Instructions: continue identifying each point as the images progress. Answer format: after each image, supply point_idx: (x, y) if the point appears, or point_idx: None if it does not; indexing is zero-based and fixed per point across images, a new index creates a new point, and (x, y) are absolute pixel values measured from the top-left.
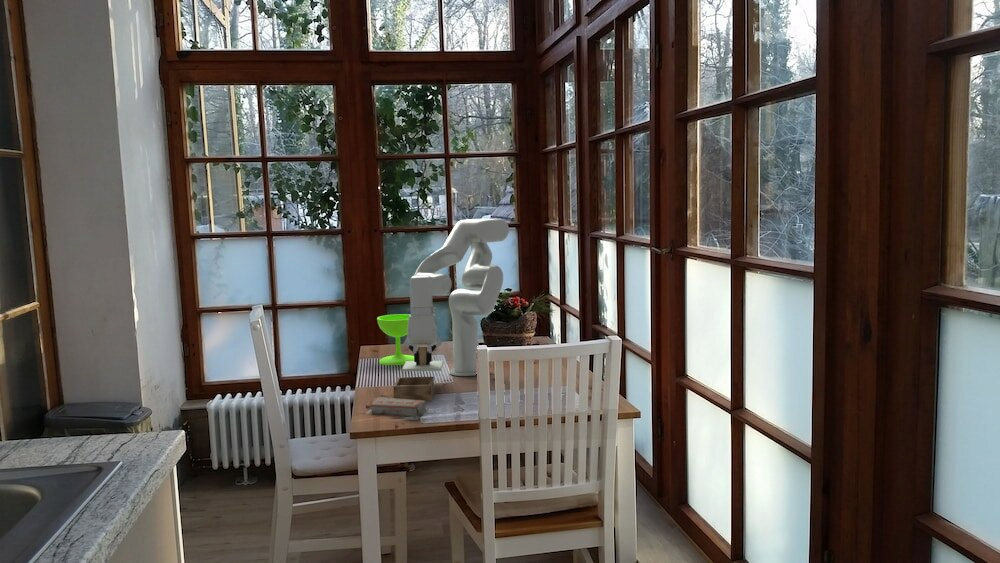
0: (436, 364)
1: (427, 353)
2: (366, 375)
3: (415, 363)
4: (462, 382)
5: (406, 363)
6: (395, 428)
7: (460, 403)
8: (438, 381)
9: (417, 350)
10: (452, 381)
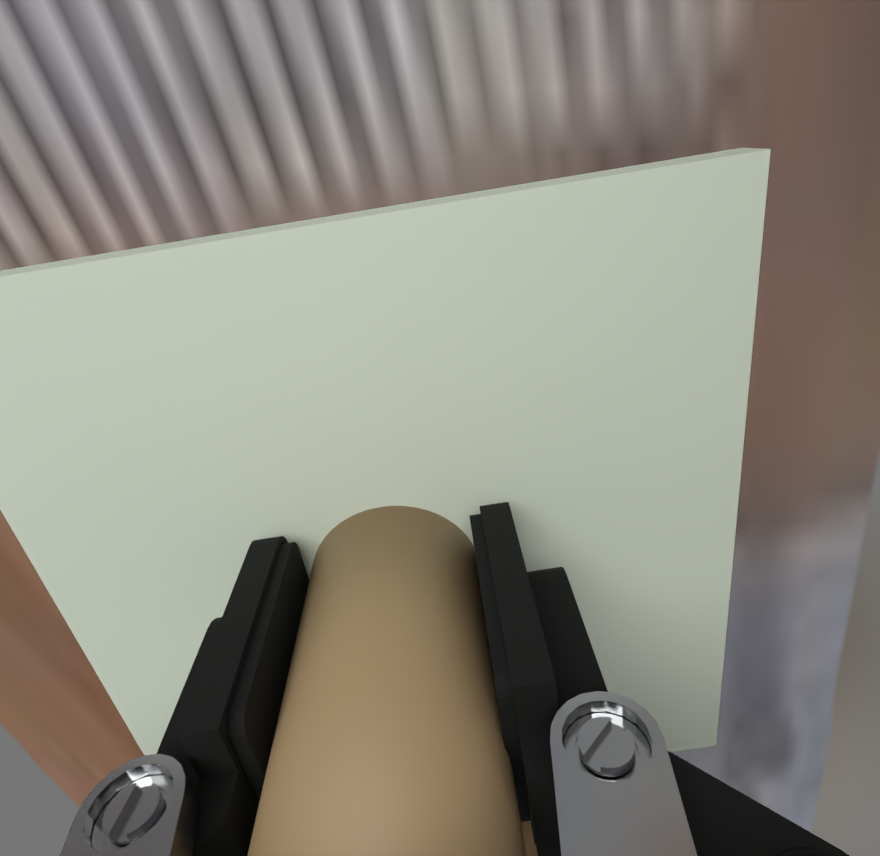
0: (636, 541)
1: (523, 807)
2: None
3: (213, 499)
4: (862, 89)
5: (30, 509)
6: None
7: (762, 761)
8: (518, 33)
9: (213, 835)
10: (725, 26)
